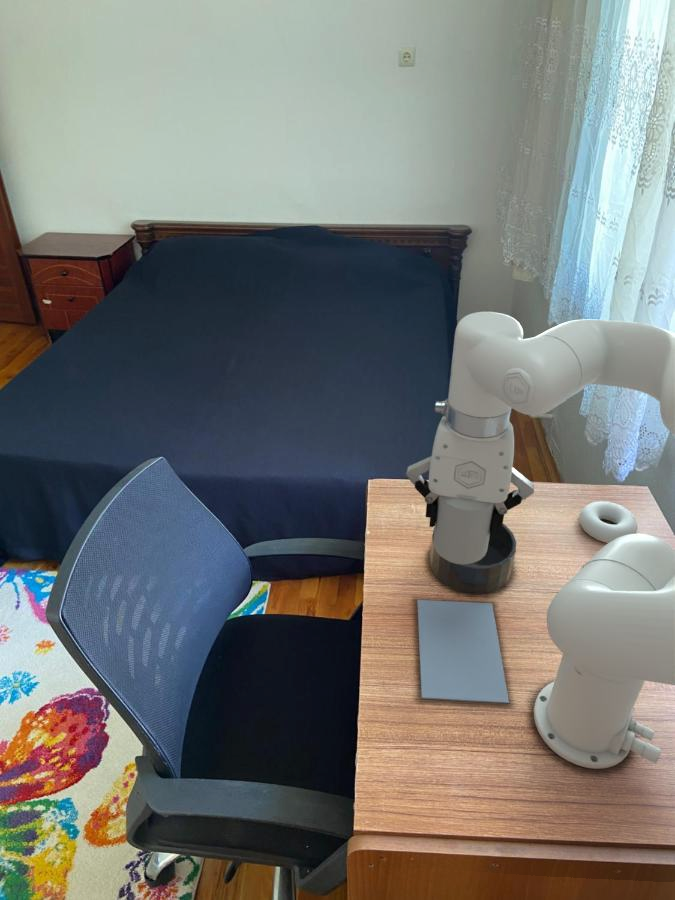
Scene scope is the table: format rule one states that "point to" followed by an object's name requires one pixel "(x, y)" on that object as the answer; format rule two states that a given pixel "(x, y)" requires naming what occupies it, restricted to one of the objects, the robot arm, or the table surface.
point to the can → (462, 528)
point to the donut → (609, 512)
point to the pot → (479, 566)
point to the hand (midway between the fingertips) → (462, 524)
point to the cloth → (460, 652)
